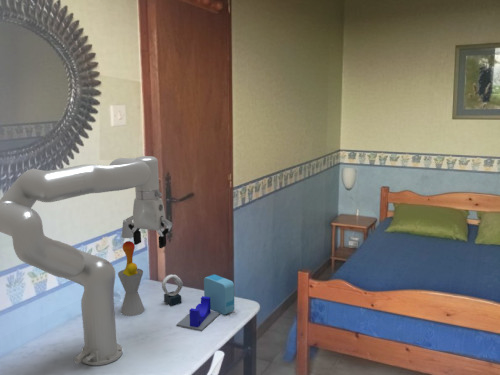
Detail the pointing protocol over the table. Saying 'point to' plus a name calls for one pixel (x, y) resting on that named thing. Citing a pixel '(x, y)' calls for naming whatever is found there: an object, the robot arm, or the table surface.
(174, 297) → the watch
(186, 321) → the mat
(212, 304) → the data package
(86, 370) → the table surface
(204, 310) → the cable clip
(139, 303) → the lava lamp
